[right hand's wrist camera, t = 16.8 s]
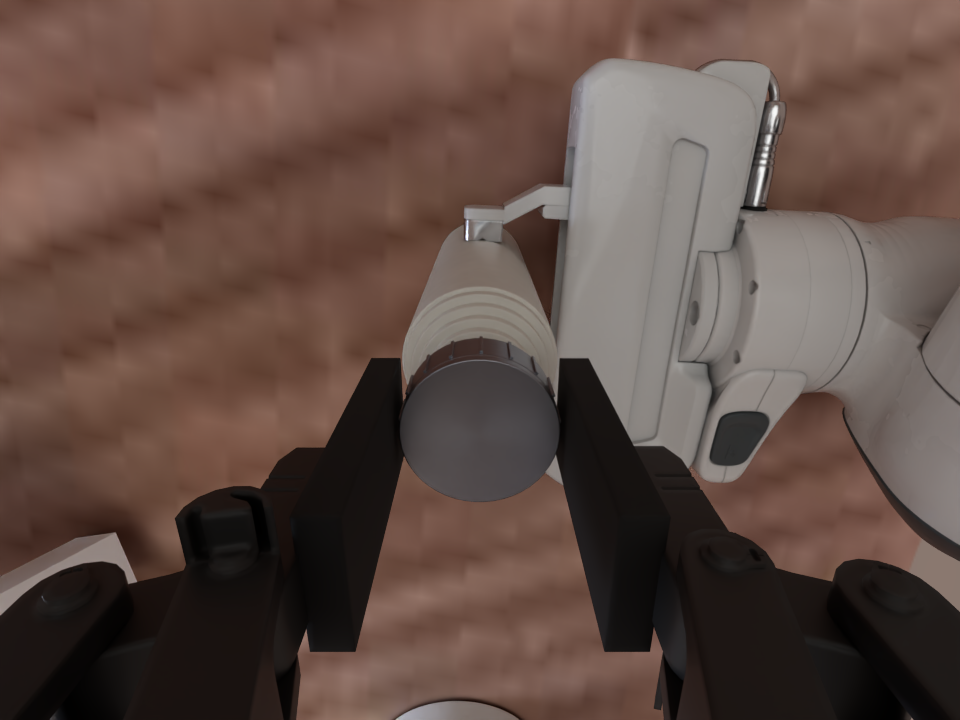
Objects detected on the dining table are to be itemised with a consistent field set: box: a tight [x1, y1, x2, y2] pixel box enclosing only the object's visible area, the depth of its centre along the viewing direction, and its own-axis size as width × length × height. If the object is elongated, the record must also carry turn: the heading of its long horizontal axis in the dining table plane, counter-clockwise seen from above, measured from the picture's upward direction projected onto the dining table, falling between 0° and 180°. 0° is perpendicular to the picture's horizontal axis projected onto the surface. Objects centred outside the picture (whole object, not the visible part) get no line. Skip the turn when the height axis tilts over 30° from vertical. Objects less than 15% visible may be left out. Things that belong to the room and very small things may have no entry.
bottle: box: [402, 225, 558, 384], centre depth 23 cm, size 5×5×20 cm
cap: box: [398, 336, 561, 502], centre depth 14 cm, size 4×4×2 cm
